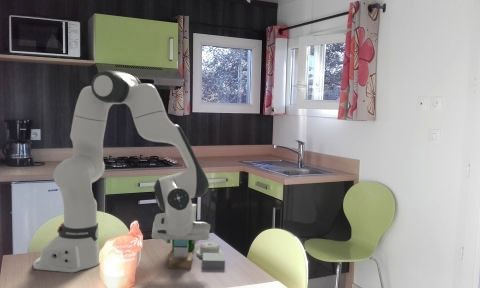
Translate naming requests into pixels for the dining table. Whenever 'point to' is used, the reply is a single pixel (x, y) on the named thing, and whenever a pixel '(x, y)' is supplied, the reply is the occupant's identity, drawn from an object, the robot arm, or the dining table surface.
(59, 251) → the robot arm
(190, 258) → the walnut stand
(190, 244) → the milk carton
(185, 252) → the block
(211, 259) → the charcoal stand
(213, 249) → the mechanical component
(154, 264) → the dining table surface
